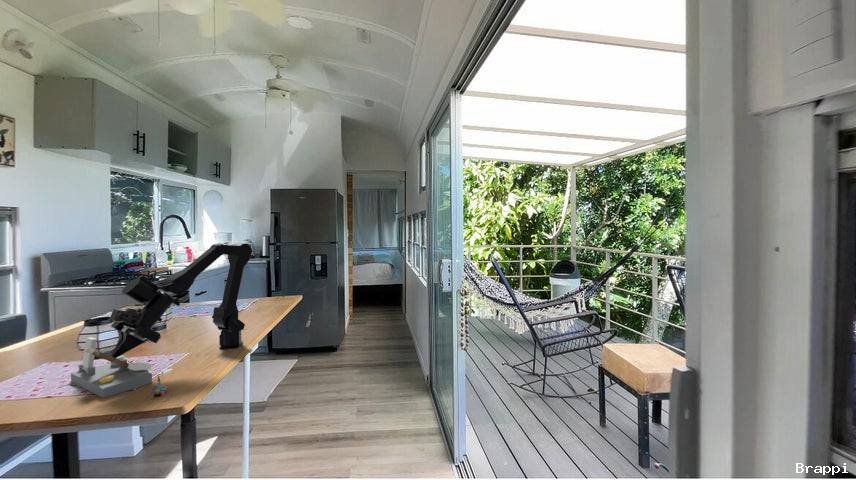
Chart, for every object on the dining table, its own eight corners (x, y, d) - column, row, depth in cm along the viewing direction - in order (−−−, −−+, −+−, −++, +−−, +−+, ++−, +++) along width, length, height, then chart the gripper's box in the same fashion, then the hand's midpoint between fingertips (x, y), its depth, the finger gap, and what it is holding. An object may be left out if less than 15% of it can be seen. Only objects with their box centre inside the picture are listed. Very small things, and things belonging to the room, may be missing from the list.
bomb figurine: (182, 389, 98) (182, 370, 97) (161, 403, 90) (160, 382, 90) (155, 389, 98) (154, 370, 98) (131, 402, 90) (130, 381, 90)
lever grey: (87, 366, 104) (91, 337, 105) (92, 368, 102) (97, 339, 103) (81, 367, 103) (86, 337, 104) (87, 369, 101) (91, 339, 102)
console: (118, 368, 112) (117, 354, 112) (152, 382, 101) (151, 366, 101) (71, 381, 102) (70, 366, 102) (102, 398, 92) (102, 381, 92)
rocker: (143, 367, 104) (145, 362, 105) (150, 369, 103) (151, 364, 103) (127, 368, 101) (129, 363, 101) (134, 370, 99) (135, 365, 99)
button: (121, 361, 111) (121, 354, 111) (126, 363, 109) (126, 356, 109) (109, 365, 108) (108, 358, 108) (113, 366, 106) (113, 359, 106)
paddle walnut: (124, 362, 106) (88, 347, 99) (131, 364, 104) (95, 349, 97) (121, 366, 106) (84, 351, 98) (128, 368, 103) (91, 354, 96)
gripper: (115, 295, 110) (71, 340, 101) (144, 300, 101) (98, 350, 92) (147, 312, 117) (109, 357, 109) (177, 319, 108) (137, 367, 100)
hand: (113, 357), depth 102 cm, fingers closed, pressing on paddle walnut
